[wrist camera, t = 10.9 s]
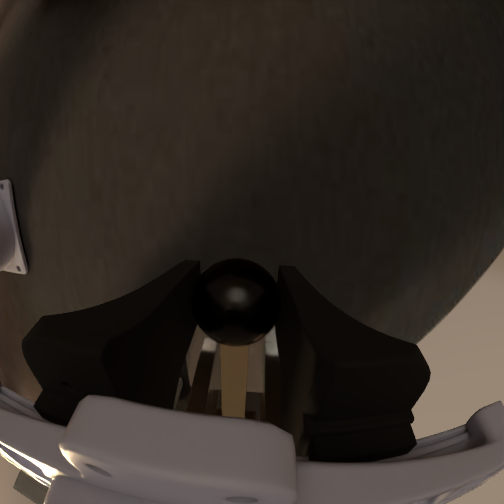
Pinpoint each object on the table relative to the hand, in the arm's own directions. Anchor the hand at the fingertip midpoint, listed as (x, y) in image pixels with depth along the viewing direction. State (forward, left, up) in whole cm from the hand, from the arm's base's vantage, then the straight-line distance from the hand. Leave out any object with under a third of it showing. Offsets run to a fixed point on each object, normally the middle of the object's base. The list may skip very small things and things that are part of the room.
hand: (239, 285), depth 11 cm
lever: (0, -4, 0) cm, 4 cm away
